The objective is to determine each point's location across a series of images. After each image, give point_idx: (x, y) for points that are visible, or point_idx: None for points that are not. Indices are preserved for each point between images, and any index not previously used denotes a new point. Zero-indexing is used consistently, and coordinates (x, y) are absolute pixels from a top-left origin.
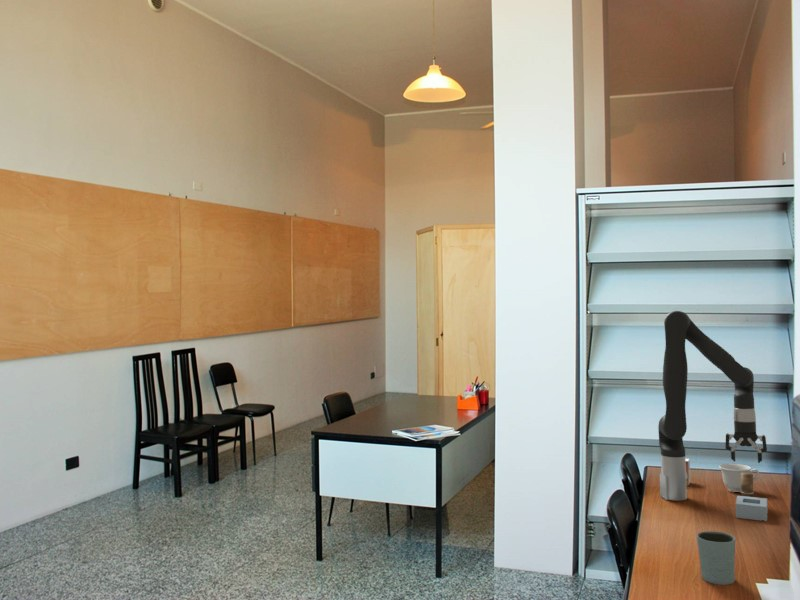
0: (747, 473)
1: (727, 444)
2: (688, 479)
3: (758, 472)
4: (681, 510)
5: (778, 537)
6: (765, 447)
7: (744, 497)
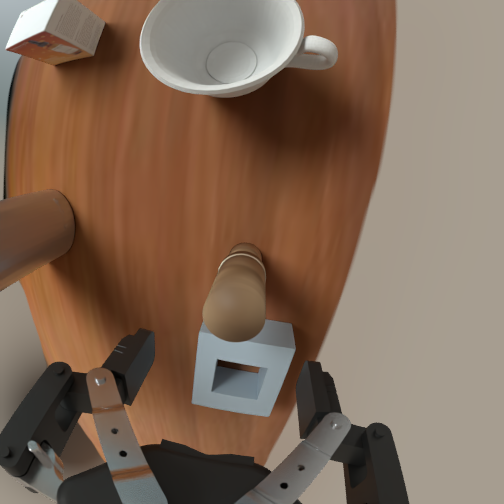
0: (238, 309)
1: (62, 428)
2: (82, 50)
3: (334, 61)
4: (84, 334)
5: (265, 449)
6: (361, 476)
7: (221, 349)
